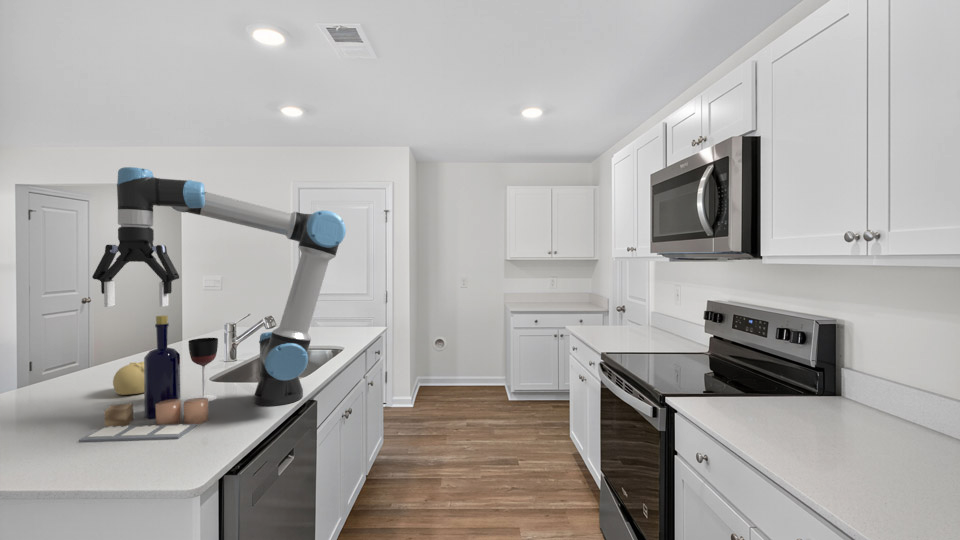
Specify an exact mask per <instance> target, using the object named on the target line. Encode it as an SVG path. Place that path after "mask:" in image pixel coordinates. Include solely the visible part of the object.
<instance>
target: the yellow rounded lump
mask: <svg viewBox="0 0 960 540" xmlns="http://www.w3.org/2000/svg"><path fill="white" fill-rule="evenodd" d="M112 386H113V389H114V390H115V392H116V393H117V394H118V395H121V396H127V395H137V394H143V393H144V361H139V362H136V361H134V362H129V364H126V365H124V366H122V367H120V368H119V369H118V370H117V371H116V373H115V374H114V376H113V379H112Z"/></svg>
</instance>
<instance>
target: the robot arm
mask: <svg viewBox="0 0 960 540" xmlns="http://www.w3.org/2000/svg"><path fill="white" fill-rule="evenodd" d="M116 182H117V183H116V187H117V188H116V192H117V198H116V199H117V224H118V225H119V227H118V228H117V239H118V242H119V244H118V245H116V244H106V245H105V247H104V253H103V255H102V257H101V260H100V261H99V263H98V265H97V267H96V269H95V271H94V273H93V275H92V279H93V280H97V281H100V283H101V285H100V288H101V289H100V290H101V294H102V295H104V299H103V301H104V307H107V308H108V307H114V306H116V290H115V288H116V286H115V284H116V282H115V281H113V279H114V278H115V277H116V276H117V274H118V273H119V272H120V271H121V270H122V269H123V268H124V266H125V265H127V264H128V263H133V262H139V263H140V262H141V263H143V262H144V263H145V264H146V265H148V267H150V269H151V270H152V271H153V272H154V273H155V274H156V275H157V277H158V278H159V279H160V281H158V282H159V283H158V285H159V286H158V287H159V291H158V292H159V294H158V295H159V296H158V298H159V307H162V308H163V307H169V300H170V299H169V295H170V294H172V289H173V288H172V287H173V286H172V282H173V281H175V280H179V279H180V274H179V273H178V271H177V269H176V267H175V266H174V264H173V261H172V260H171V258H170V256H169V255H168V251H167V250H168V249H167V246H166V245H163V244H157V245H154V240H155V238H154V237H155V236H154V235H155V234H154V228H152V227H153V226H154V206H155V207H156V206H157V207H170V208H172V210H175V211H176V212H180V213H188V214H193V215H197V216H202V217H207V218H211V219H214V220H215V219H216V220H218V221H222V222H223V221H224V222H227V223H232V224H236V225H240V226H243V227H244V226H246V227H248V228H254V229H258V230H262V231H265V232H266V231H267V232H270V233H275V234H279V235H283V236H285V237H286V238H287V239H288V240H290V241H295V242H298V246H297V247H298V250H299V251H300V253H301V254H300V257H299V261H298V264H297V268H296V270H295V274H294V277H293V279H292V280H293V281H292V285H291V287H290V290H289V294H288V297H287V300H286V304H285V307H284V310H283V313H282V317H281V321H280V324H279V326H278V327H277V328H275V329H273V330H272V331H268V332H267V331H266V332H263V333H261V334H260V335H259V341H258V343H259V379H258V382H257V385H256V389H255V391H254V394H253V403H254V404H257V405H260V406H266V407H267V406H269V407H270V406H271V407H272V406H273V407H274V406H282V405H287V404H292V403H295V402H298V401H299V400H301V399H303V397H304V390H303V386H302V384H301V380H300V376H301V375H302V374H303V372H305V370H306V368H307V367H308V361H309V355H308V352H309V347H310V344H311V341H312V338H311V336H310V335H309V330H310V326H311V323H312V320H313V319H312V318H313V316H314V312H315V309H316V306H317V302H318V299H319V296H320V292H321V288H322V285H323V283H324V278H325V276H326V272H327V268H328V265H329V263H330V261H331V260H332V259H334V258H336V255H337V253H338V249H339V246H340V244H341V243H342V242H343V240H344V238H345V237H346V232H347V227H346V224H345V222H344V219H343V218H342V217H341V216H340V215H338V214H337V213H335V212H333V211H330V210H317V211H315V212H313V213H303V212H298V211H293V212H291V213H290V212H286V211H281V210H277V209H275V208H270V207H267V206H261V205H259V204H254V203H251V202H246V201H243V200H239V199H235V198H230V197H228V196H224V195H220V194H216V193H212V192H208V191H205V184H204V183H203V182H202V181H195V180H192V179H191V180H190V179H188V180H186V179H185V180H183V179H169V178H160V177H159V178H158V177H155V176H154V173H153V171H152V170H150V169H147V168H141V167H134V166H132V167H131V166H129V167H128V166H126V167H125V166H124V167H121V168H120V169H118V171H117V181H116ZM117 253H119V255H118V257H116V255H117ZM154 253H155V254H156V255H157V258H158V259H159V261H160V263H161V264H160V263H159V262H158V261H157V258H156V257H155V256H154V255H153V254H154ZM115 258H116V259H115ZM114 259H115V261H114ZM112 263H113V264H112Z"/></svg>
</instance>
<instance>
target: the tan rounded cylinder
mask: <svg viewBox="0 0 960 540" xmlns="http://www.w3.org/2000/svg"><path fill="white" fill-rule="evenodd" d="M207 421H209V401H208V398H196V397H193V398H190V399H187V400H185V401H184V402H183V424H196V425H200V424H204V423H206V422H207Z"/></svg>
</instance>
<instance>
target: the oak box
mask: <svg viewBox="0 0 960 540" xmlns="http://www.w3.org/2000/svg"><path fill="white" fill-rule="evenodd" d="M133 420H134V404H133V402H132V403H131V402H130V403H123V404H112V405H110V406H109V407H108V408H106V409H105V410H104V427H105V426H129V424H131V423H132V422H133Z"/></svg>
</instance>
